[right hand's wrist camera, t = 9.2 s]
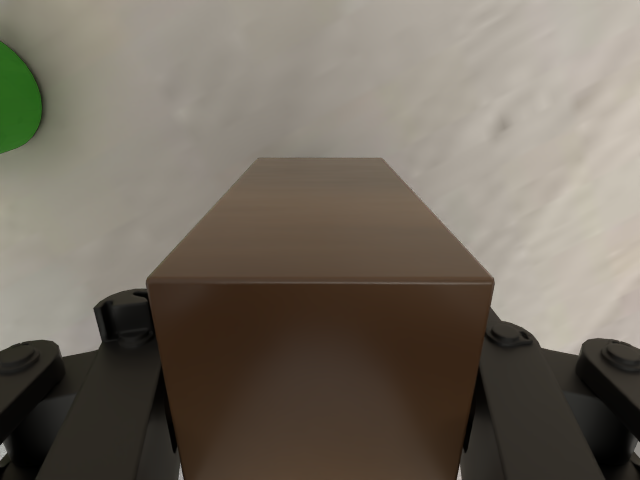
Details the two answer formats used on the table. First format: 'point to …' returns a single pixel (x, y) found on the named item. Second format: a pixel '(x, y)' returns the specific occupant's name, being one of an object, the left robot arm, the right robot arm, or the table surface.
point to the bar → (320, 329)
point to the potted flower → (17, 101)
